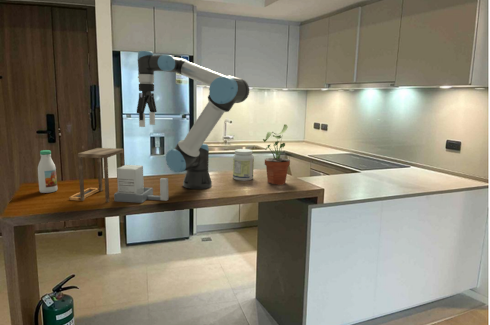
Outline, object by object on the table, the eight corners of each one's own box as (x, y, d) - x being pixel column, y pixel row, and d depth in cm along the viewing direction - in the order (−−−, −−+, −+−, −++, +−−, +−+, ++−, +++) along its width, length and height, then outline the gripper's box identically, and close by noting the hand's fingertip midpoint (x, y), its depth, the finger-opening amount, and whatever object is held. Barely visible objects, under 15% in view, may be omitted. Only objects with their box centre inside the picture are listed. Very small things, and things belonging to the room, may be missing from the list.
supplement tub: (240, 175, 218) (241, 148, 215) (257, 178, 211) (258, 150, 208) (228, 178, 208) (228, 150, 205) (245, 182, 201) (246, 152, 198)
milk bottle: (39, 193, 168) (35, 152, 164) (39, 190, 175) (36, 149, 171) (57, 192, 171) (54, 151, 168) (57, 188, 178) (54, 149, 174)
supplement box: (126, 195, 170) (125, 164, 167) (144, 196, 169) (143, 165, 166) (117, 200, 161) (116, 168, 158) (136, 201, 160) (135, 169, 157)
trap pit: (99, 190, 176) (99, 188, 176) (79, 200, 159) (79, 198, 159) (89, 190, 176) (89, 187, 176) (69, 199, 160) (68, 197, 160)
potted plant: (272, 178, 212) (274, 119, 206) (293, 182, 202) (297, 121, 196) (255, 182, 201) (257, 120, 194) (277, 187, 191) (280, 122, 184)
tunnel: (125, 192, 175) (123, 148, 171) (108, 202, 158) (105, 154, 154) (100, 190, 176) (98, 147, 172) (80, 200, 159) (77, 153, 155)
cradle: (172, 196, 170) (171, 175, 168) (162, 204, 157) (162, 182, 155) (127, 193, 172) (126, 173, 170) (114, 201, 160) (113, 179, 158)
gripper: (148, 84, 191) (149, 123, 195) (128, 82, 166) (130, 127, 170) (162, 84, 190) (162, 124, 194) (143, 82, 166) (145, 128, 169)
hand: (147, 125), depth 182 cm, fingers open, 13 cm apart
